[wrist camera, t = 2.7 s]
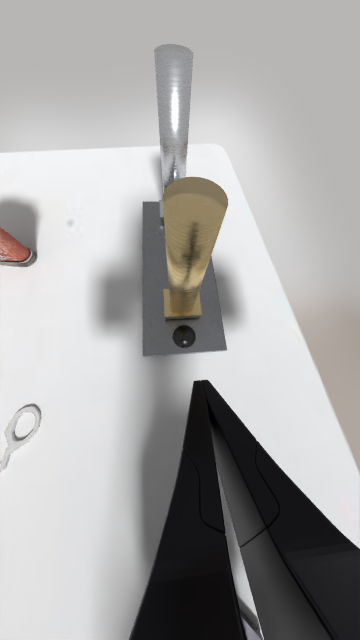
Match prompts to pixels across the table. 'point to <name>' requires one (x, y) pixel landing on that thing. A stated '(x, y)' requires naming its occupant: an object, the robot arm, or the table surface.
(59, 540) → the table surface
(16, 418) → the scissors
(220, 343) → the bolt plate
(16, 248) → the lighter
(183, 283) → the gold tapered block
